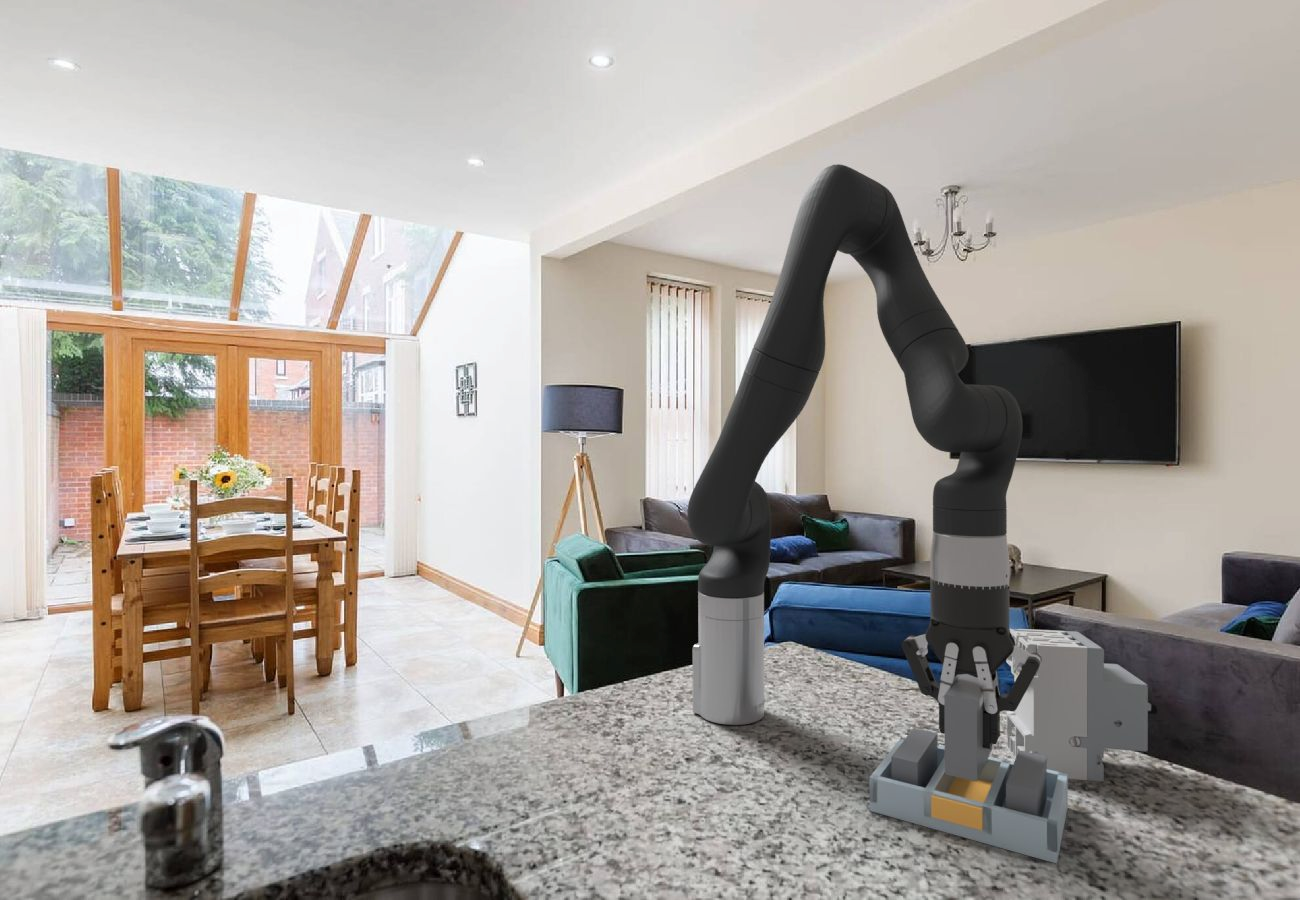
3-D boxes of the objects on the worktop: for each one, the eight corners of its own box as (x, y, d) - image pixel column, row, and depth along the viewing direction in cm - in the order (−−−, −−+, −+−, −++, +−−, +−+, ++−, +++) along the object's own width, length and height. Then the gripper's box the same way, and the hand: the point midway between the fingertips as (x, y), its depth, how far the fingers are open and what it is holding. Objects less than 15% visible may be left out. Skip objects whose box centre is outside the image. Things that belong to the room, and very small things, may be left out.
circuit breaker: (1164, 786, 80) (1164, 651, 80) (1024, 775, 83) (1025, 644, 83) (1133, 757, 87) (1133, 634, 87) (1006, 748, 90) (1006, 628, 90)
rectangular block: (944, 774, 72) (944, 694, 72) (962, 742, 80) (962, 670, 80) (977, 781, 71) (977, 700, 71) (992, 749, 78) (992, 675, 78)
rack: (868, 811, 75) (868, 759, 75) (901, 766, 85) (901, 720, 85) (1056, 865, 65) (1056, 804, 65) (1067, 807, 75) (1067, 754, 75)
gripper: (890, 575, 76) (890, 739, 76) (1041, 590, 68) (1041, 772, 68) (908, 565, 82) (909, 716, 82) (1049, 577, 74) (1049, 745, 74)
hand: (969, 741), depth 75 cm, fingers closed on rectangular block, 3 cm apart
